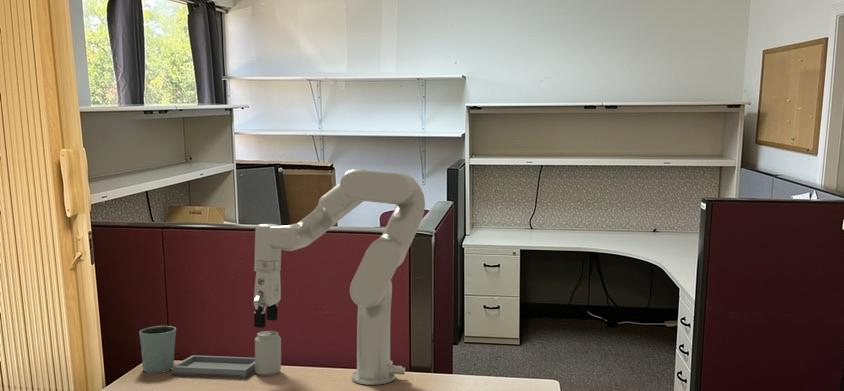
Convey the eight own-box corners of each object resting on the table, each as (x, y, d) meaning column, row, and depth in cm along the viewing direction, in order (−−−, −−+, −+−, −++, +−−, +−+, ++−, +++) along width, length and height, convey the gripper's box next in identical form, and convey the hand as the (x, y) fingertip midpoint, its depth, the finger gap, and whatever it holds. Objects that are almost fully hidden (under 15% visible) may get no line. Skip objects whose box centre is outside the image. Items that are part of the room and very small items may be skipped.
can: (274, 377, 179) (274, 336, 179) (250, 375, 180) (250, 334, 180) (285, 370, 186) (285, 330, 186) (261, 368, 188) (262, 329, 188)
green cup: (182, 365, 191) (182, 326, 191) (165, 374, 181) (165, 333, 181) (150, 363, 192) (150, 325, 192) (132, 373, 182) (132, 332, 182)
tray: (262, 366, 190) (262, 358, 190) (245, 378, 178) (245, 370, 178) (192, 363, 193) (192, 355, 193) (171, 375, 180) (171, 366, 180)
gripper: (269, 270, 174) (267, 331, 174) (289, 262, 191) (288, 318, 191) (243, 269, 175) (242, 329, 175) (266, 261, 192) (264, 316, 192)
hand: (266, 323), depth 183 cm, fingers open, 9 cm apart
